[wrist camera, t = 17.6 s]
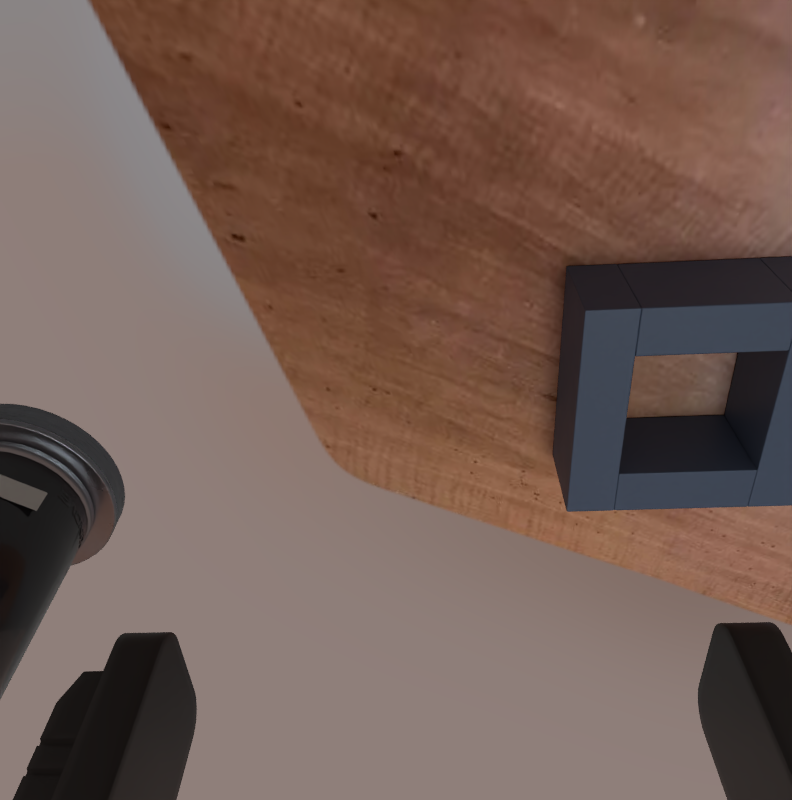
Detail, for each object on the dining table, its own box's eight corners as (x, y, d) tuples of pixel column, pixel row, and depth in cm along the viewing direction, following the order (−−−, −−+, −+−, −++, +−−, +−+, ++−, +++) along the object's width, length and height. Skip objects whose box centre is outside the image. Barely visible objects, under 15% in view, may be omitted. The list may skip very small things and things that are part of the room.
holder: (552, 454, 44) (566, 512, 40) (566, 265, 38) (585, 310, 34) (759, 448, 44) (795, 505, 40) (810, 255, 37) (860, 299, 33)
